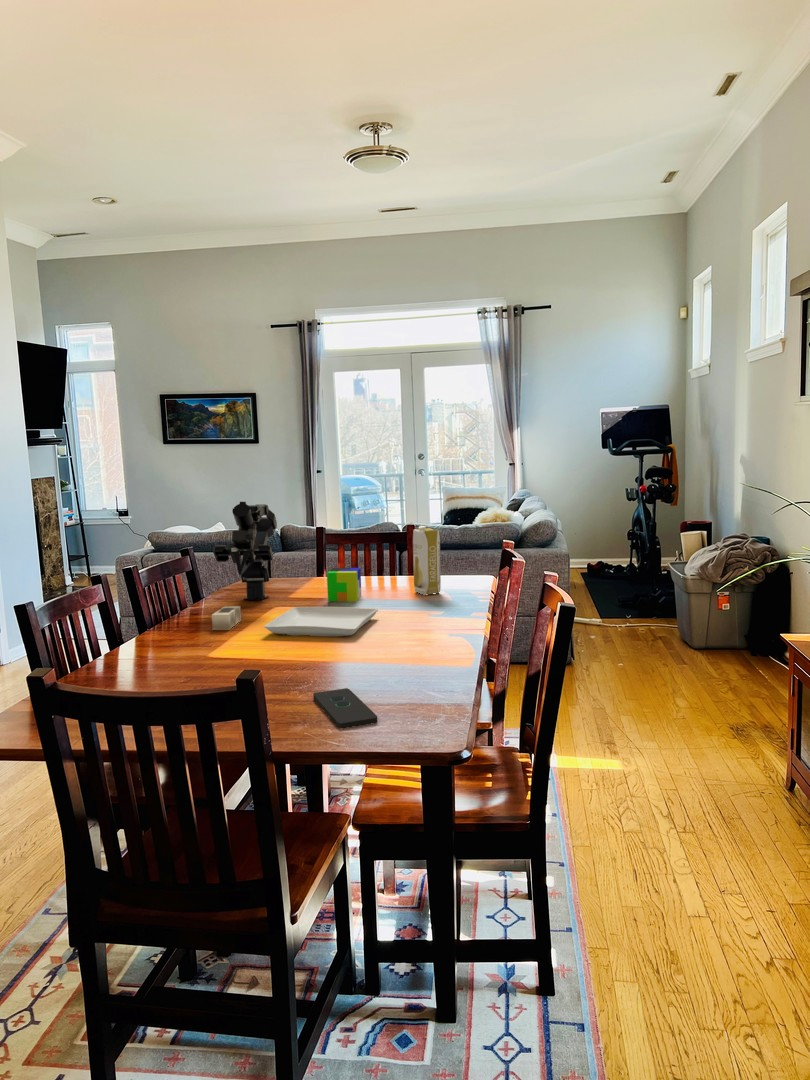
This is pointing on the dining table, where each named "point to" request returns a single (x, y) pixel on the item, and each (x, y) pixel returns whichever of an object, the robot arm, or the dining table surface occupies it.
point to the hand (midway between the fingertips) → (239, 574)
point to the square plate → (321, 621)
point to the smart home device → (344, 708)
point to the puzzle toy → (344, 584)
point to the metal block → (226, 618)
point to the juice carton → (426, 560)
